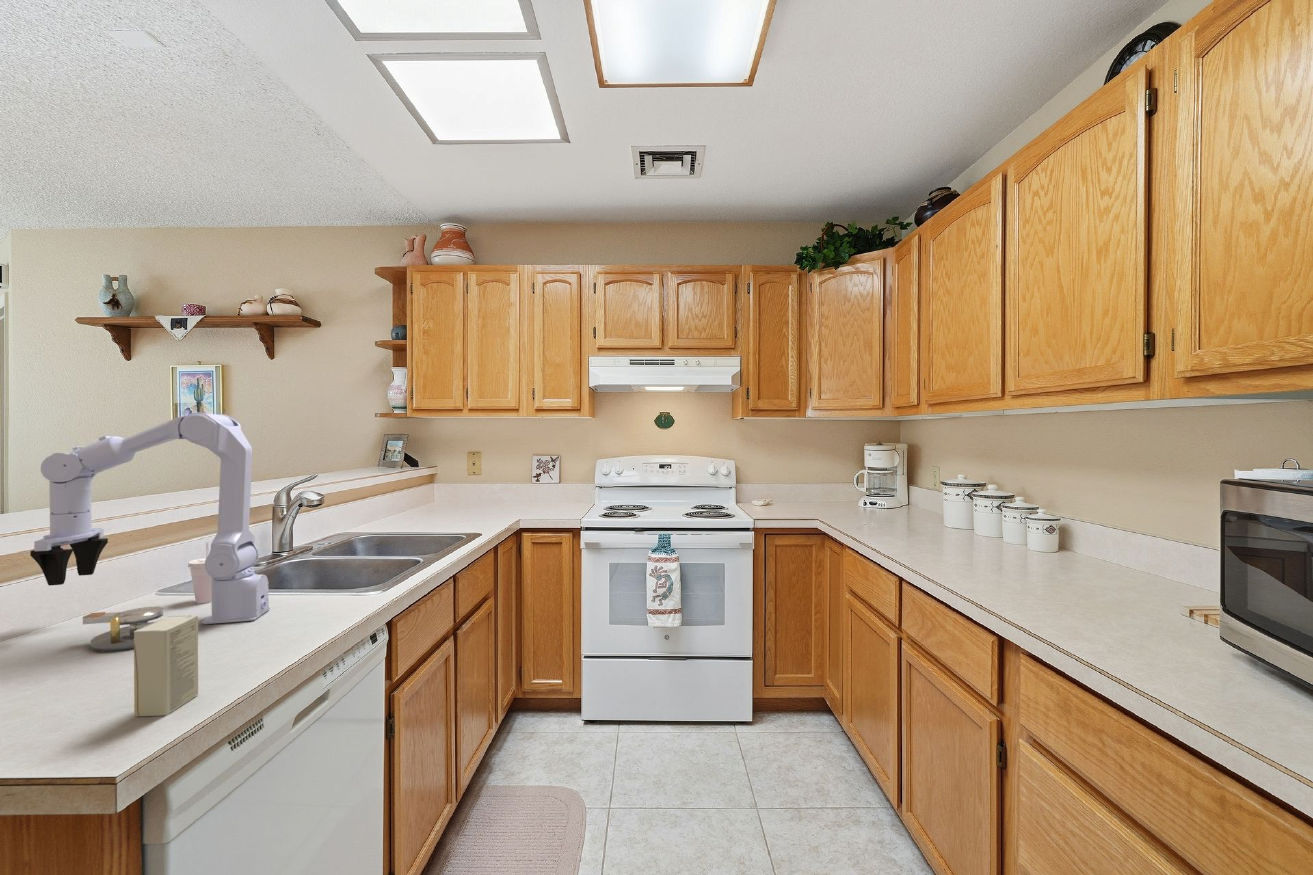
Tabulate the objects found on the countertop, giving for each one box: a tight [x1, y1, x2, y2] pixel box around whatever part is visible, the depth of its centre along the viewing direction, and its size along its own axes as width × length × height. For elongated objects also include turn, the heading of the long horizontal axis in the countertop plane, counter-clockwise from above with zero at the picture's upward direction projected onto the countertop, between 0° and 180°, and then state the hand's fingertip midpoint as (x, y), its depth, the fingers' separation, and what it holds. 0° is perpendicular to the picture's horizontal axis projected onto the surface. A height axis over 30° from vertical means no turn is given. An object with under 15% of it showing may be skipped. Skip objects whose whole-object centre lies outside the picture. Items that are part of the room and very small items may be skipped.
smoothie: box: [187, 541, 212, 605], centre depth 128 cm, size 6×6×14 cm
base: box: [89, 617, 155, 653], centre depth 104 cm, size 13×13×6 cm
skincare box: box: [133, 615, 199, 717], centre depth 78 cm, size 6×4×12 cm
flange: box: [82, 606, 164, 626], centre depth 104 cm, size 12×7×1 cm, turn 105°
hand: (71, 579), depth 109 cm, fingers open, 7 cm apart
